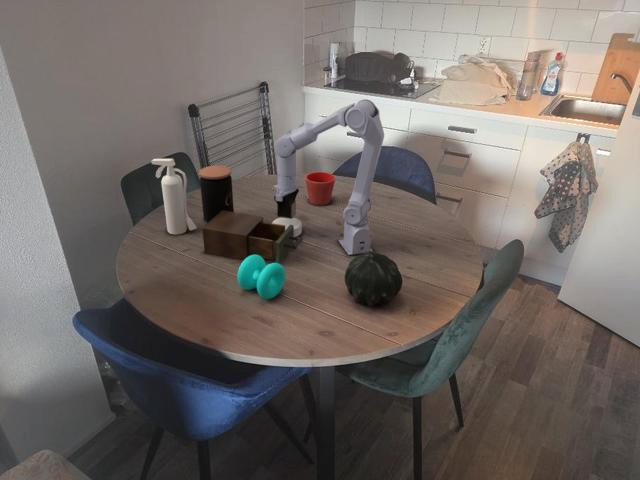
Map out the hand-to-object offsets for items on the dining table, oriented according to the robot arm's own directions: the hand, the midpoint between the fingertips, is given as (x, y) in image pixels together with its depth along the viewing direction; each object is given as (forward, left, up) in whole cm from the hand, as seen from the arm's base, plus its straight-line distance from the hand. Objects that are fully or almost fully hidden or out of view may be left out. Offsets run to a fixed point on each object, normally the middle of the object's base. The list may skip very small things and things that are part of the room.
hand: (286, 213), depth 163 cm
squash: (-43, -12, -7) cm, 45 cm away
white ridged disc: (0, 0, -7) cm, 7 cm away
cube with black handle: (0, 0, -1) cm, 1 cm away
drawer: (-13, +8, -6) cm, 16 cm away
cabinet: (-5, +18, -7) cm, 20 cm away
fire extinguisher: (+10, +35, -7) cm, 37 cm away
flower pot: (+21, -18, -7) cm, 29 cm away
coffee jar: (+15, +21, -7) cm, 27 cm away
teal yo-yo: (-33, +16, -7) cm, 37 cm away
